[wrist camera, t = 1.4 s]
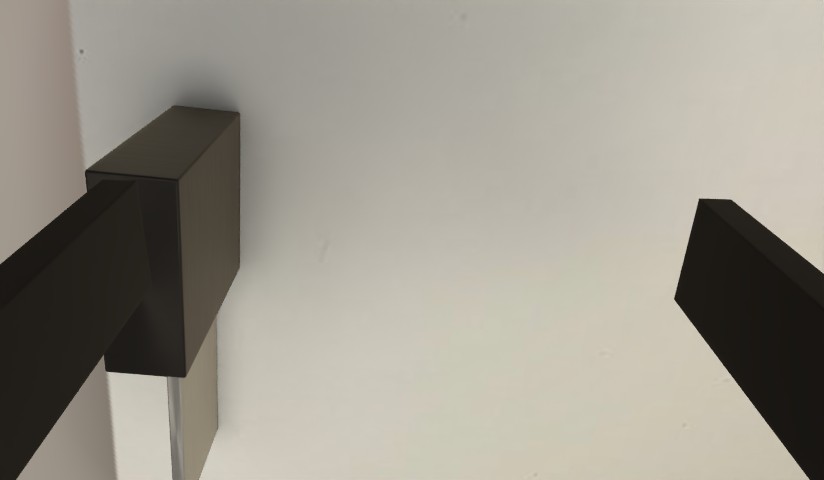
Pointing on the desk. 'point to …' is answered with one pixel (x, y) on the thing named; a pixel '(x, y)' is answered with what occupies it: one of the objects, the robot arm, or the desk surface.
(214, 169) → the black and grey bar
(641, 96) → the desk surface
